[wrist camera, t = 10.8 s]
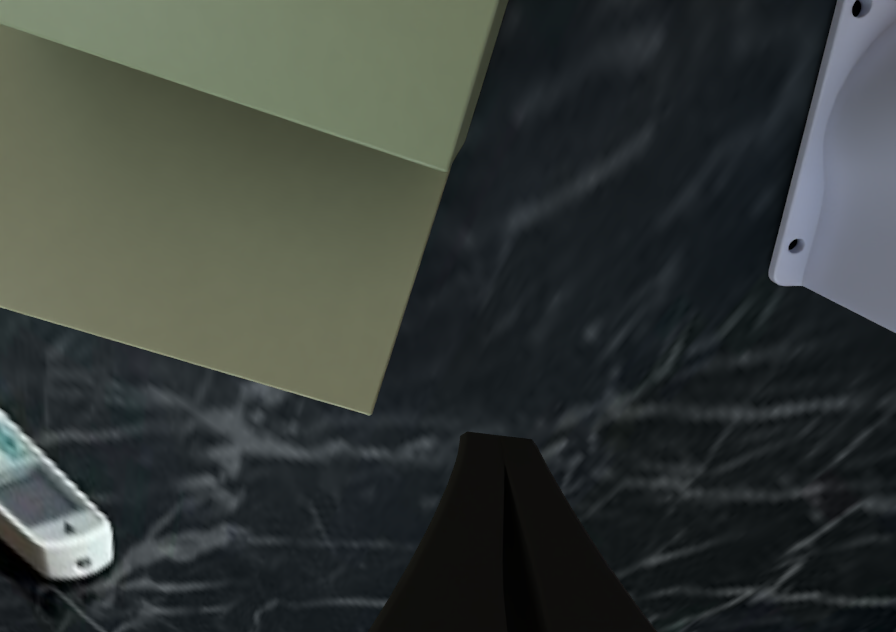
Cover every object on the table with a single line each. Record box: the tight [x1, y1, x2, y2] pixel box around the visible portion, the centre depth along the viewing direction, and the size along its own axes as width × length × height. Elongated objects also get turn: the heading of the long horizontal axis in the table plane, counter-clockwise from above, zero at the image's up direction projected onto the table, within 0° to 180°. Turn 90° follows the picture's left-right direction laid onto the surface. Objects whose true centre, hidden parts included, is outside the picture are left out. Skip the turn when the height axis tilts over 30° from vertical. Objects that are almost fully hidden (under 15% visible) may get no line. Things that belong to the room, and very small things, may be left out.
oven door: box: [0, 24, 451, 415], centre depth 16 cm, size 5×15×9 cm
